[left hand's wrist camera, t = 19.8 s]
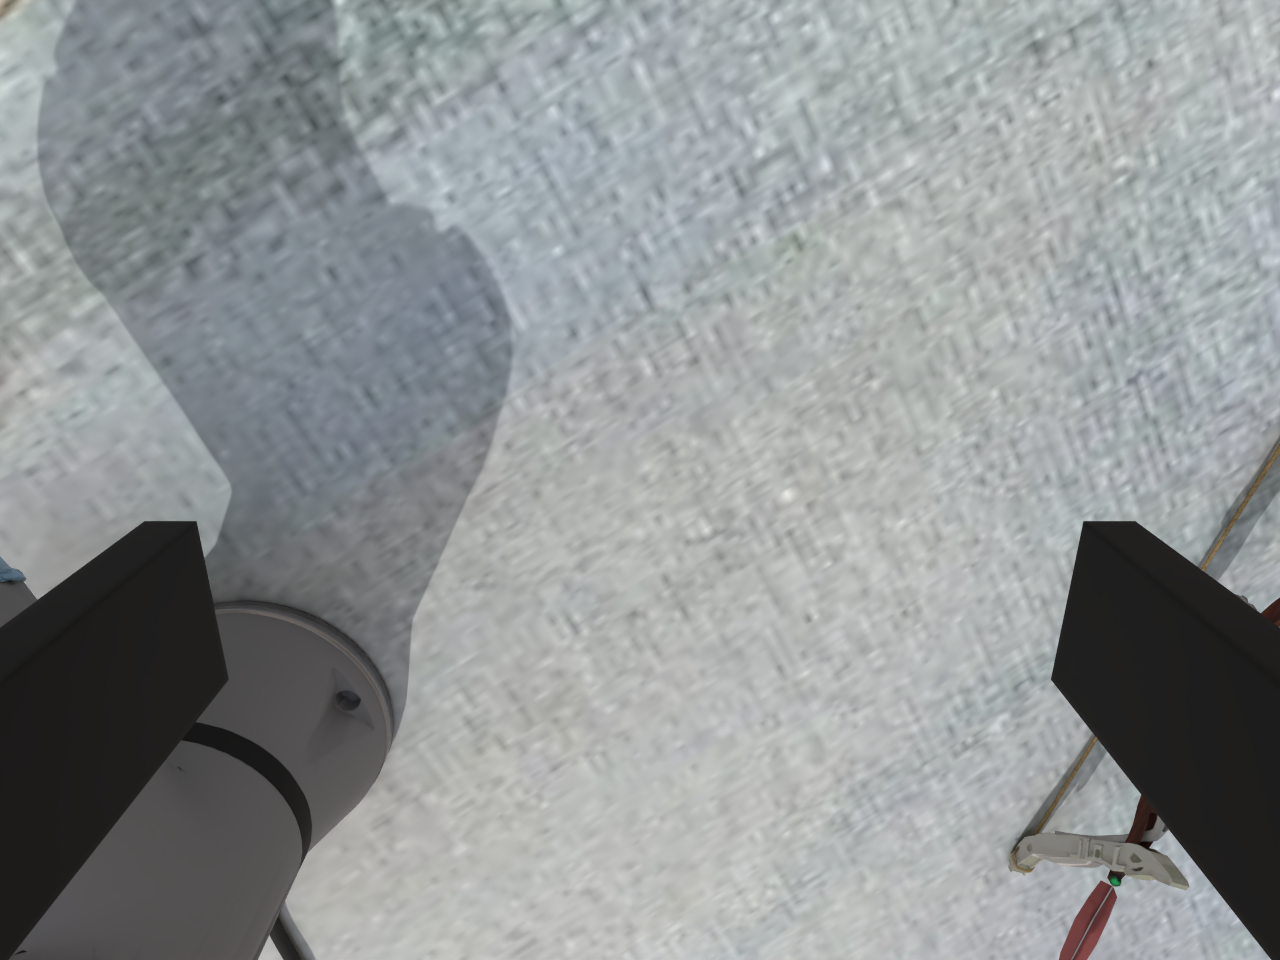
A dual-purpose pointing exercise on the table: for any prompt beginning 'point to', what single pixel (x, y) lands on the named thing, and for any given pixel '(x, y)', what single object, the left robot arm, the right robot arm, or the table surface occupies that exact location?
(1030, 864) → the bow
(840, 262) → the table surface
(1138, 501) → the table surface
